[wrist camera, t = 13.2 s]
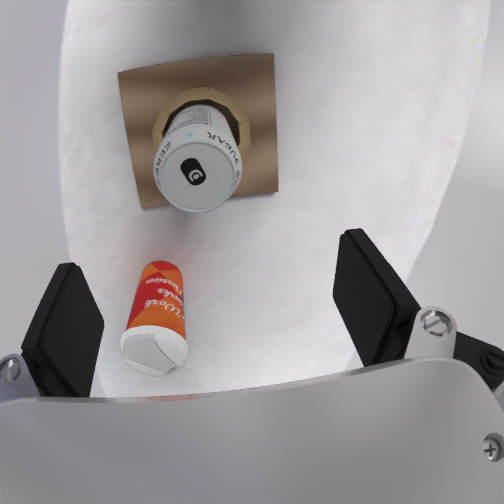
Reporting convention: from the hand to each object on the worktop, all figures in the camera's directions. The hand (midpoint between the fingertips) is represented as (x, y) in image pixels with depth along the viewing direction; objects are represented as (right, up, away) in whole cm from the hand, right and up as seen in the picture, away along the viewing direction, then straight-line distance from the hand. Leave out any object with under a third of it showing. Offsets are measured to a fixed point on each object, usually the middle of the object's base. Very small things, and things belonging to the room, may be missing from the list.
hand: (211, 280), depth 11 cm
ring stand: (-4, +14, +22) cm, 26 cm away
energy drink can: (-4, +14, +21) cm, 25 cm away
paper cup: (-11, -2, +32) cm, 34 cm away
